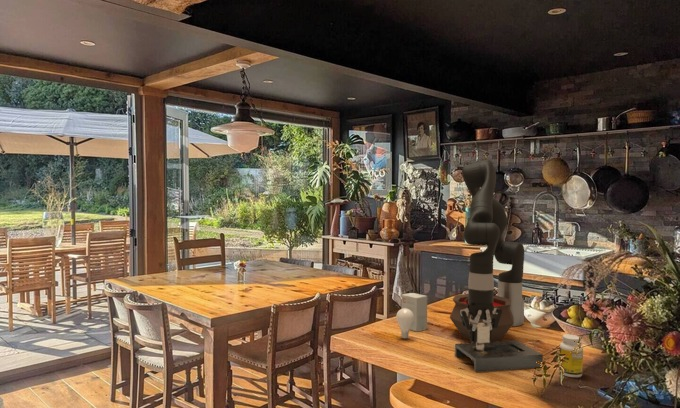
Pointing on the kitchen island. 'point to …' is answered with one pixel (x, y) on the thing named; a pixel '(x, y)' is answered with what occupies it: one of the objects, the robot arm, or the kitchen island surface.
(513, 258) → the robot arm
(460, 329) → the brown cooking pot
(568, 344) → the pill bottle
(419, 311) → the small box
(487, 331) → the keyhole peg
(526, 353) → the keyhole plate
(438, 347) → the kitchen island surface
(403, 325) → the lightbulb
